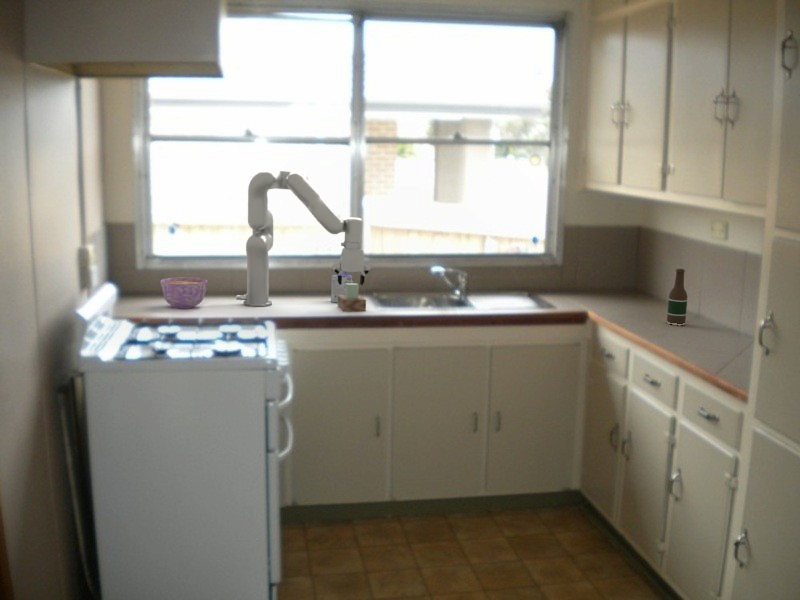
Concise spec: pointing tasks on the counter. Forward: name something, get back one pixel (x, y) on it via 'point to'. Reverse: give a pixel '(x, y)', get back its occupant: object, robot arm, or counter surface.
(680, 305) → the beer bottle
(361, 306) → the brown wooden block
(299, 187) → the robot arm
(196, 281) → the bowl of food
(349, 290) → the pale green block
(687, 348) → the counter surface
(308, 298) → the counter surface
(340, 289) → the ink cartridge box
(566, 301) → the counter surface
